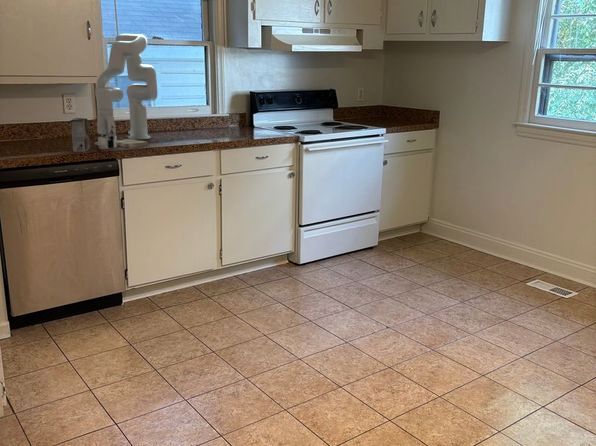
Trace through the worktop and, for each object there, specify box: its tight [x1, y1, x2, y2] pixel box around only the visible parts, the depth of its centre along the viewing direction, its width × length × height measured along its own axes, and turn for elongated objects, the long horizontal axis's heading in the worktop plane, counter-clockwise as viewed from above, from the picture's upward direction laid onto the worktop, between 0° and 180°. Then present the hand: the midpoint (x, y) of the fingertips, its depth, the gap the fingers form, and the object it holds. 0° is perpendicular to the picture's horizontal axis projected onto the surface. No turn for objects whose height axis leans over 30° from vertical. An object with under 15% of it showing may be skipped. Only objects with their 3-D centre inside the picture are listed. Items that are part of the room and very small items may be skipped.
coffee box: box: [70, 117, 91, 153], centre depth 310 cm, size 9×6×16 cm
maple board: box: [117, 138, 149, 149], centre depth 332 cm, size 16×12×2 cm
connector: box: [94, 135, 118, 150], centre depth 320 cm, size 4×12×6 cm, turn 142°
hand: (108, 146), depth 321 cm, fingers closed on connector, 4 cm apart
